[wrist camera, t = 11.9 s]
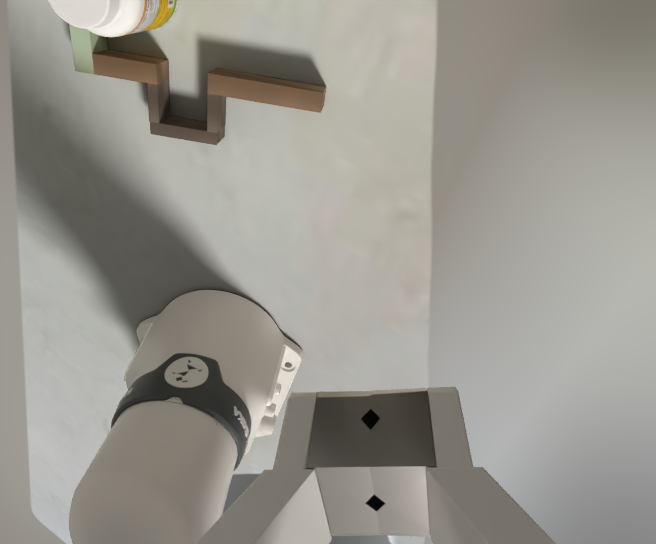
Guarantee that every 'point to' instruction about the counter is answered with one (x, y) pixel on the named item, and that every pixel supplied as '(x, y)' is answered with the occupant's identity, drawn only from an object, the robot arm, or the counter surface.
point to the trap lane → (221, 84)
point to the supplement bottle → (115, 15)
